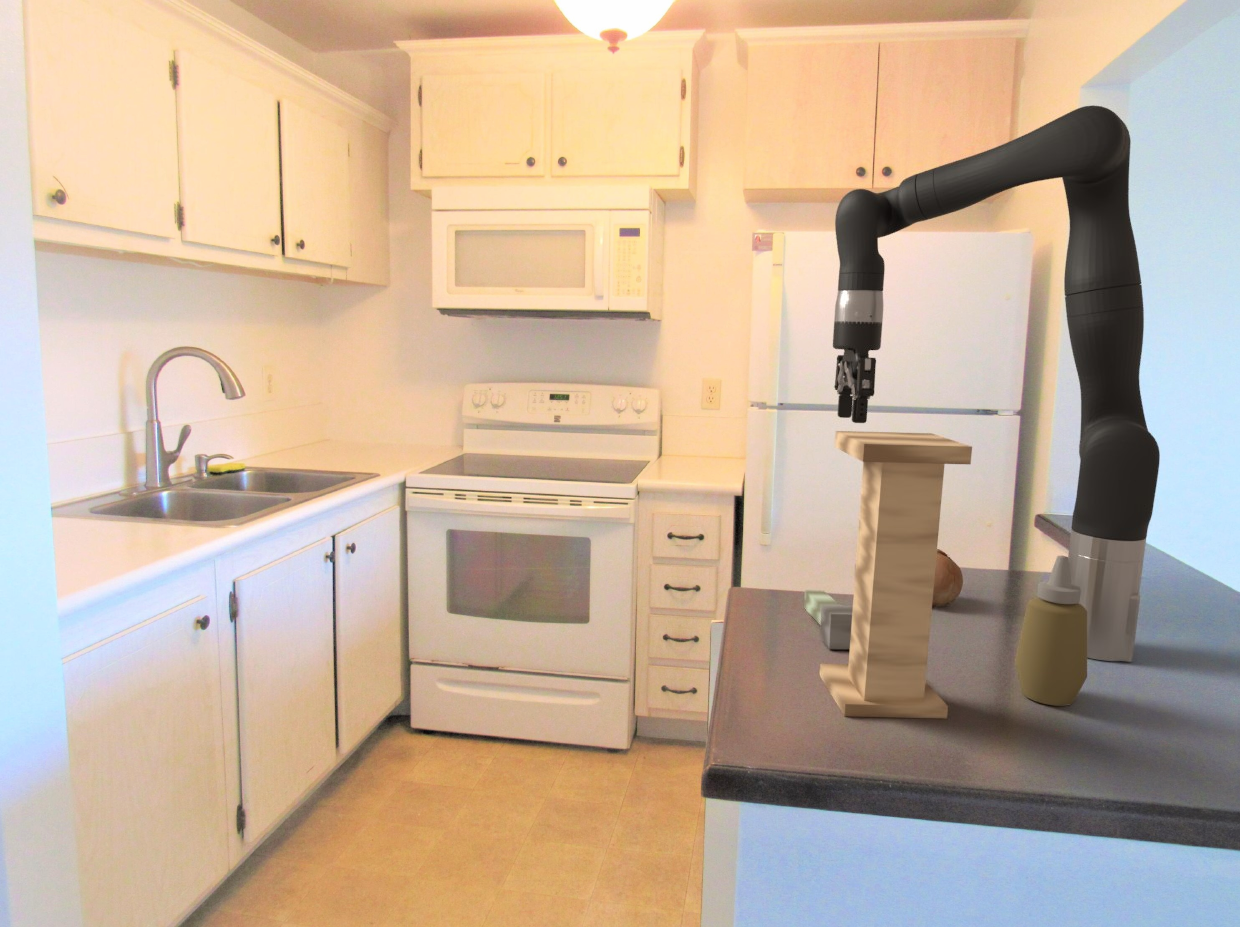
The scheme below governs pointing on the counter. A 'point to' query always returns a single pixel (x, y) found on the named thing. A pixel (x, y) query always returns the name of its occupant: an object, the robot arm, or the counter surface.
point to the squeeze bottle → (1053, 641)
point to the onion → (946, 580)
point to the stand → (894, 574)
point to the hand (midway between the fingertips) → (851, 420)
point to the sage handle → (830, 618)
